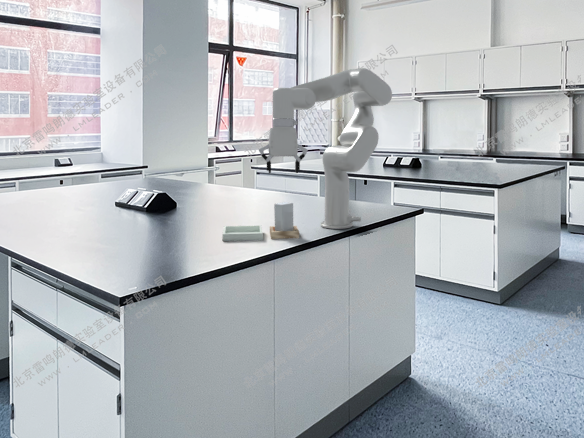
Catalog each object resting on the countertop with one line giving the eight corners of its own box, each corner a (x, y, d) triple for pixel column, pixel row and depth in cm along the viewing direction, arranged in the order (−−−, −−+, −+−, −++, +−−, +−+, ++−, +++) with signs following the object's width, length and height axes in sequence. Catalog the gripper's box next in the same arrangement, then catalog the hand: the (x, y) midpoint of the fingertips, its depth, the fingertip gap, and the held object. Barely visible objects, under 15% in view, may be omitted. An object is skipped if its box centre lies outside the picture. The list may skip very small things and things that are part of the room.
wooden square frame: (296, 232, 199) (296, 225, 198) (299, 238, 189) (299, 231, 189) (269, 232, 198) (269, 226, 198) (271, 238, 188) (270, 231, 188)
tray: (261, 231, 200) (261, 225, 199) (262, 240, 186) (262, 233, 186) (224, 232, 198) (223, 226, 198) (222, 241, 185) (222, 234, 184)
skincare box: (284, 233, 197) (284, 201, 195) (293, 234, 195) (293, 202, 192) (274, 236, 193) (273, 203, 190) (283, 237, 190) (283, 204, 188)
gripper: (306, 124, 190) (306, 171, 194) (258, 123, 189) (258, 171, 192) (309, 124, 183) (308, 173, 186) (258, 124, 182) (259, 173, 185)
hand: (283, 172), depth 189 cm, fingers open, 9 cm apart
